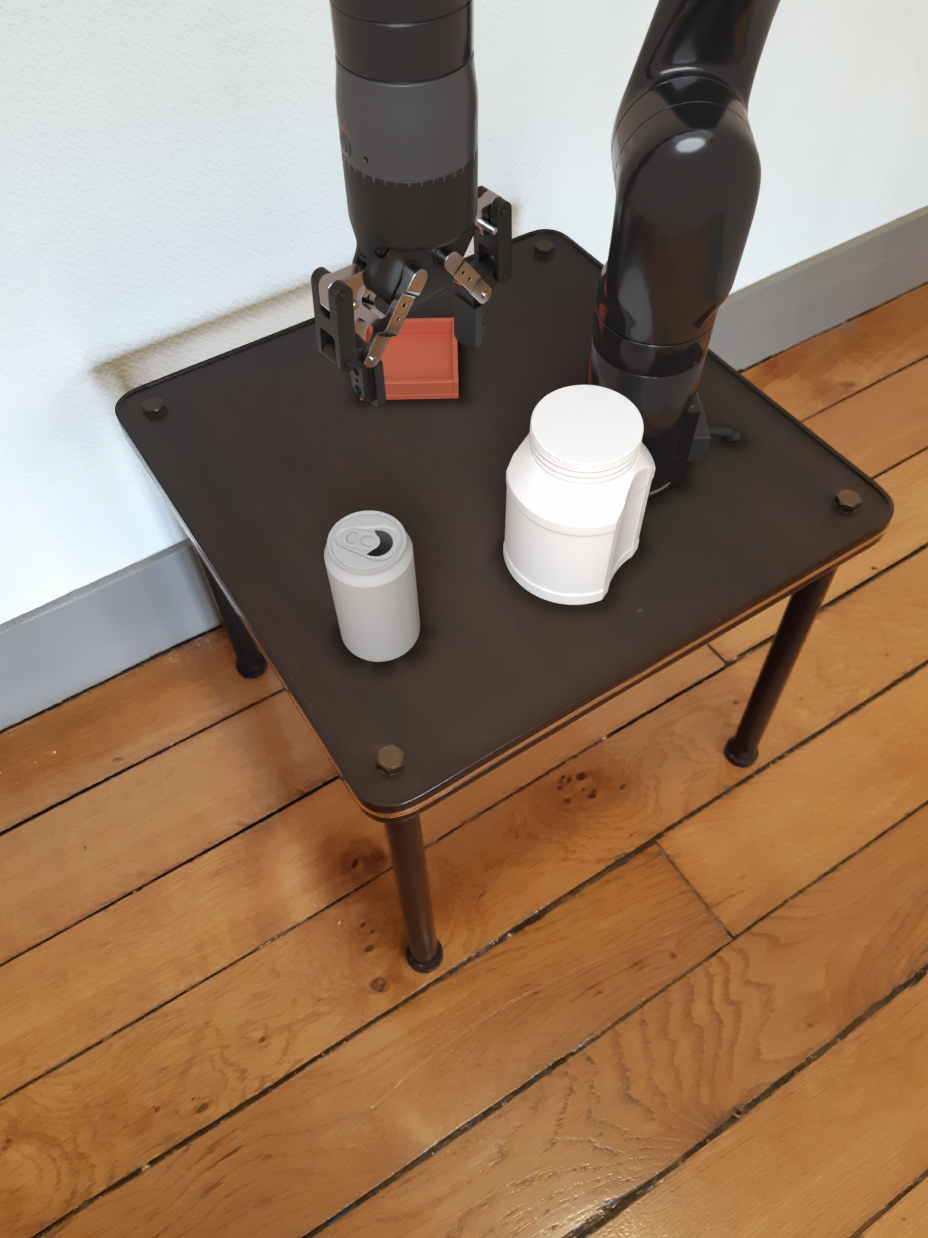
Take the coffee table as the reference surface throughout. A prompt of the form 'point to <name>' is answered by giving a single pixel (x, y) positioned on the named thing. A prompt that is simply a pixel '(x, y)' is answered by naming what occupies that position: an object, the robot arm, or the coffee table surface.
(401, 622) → the beverage can
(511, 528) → the jar
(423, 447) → the coffee table surface
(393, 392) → the red tray
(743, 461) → the coffee table surface
